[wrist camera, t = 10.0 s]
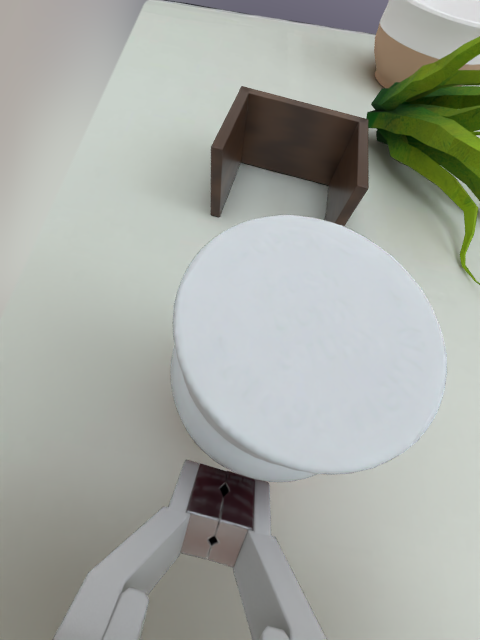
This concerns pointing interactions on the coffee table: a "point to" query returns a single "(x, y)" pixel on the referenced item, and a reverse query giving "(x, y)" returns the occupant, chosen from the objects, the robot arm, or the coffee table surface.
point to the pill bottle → (303, 351)
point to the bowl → (423, 35)
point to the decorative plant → (437, 128)
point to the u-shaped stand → (292, 148)
